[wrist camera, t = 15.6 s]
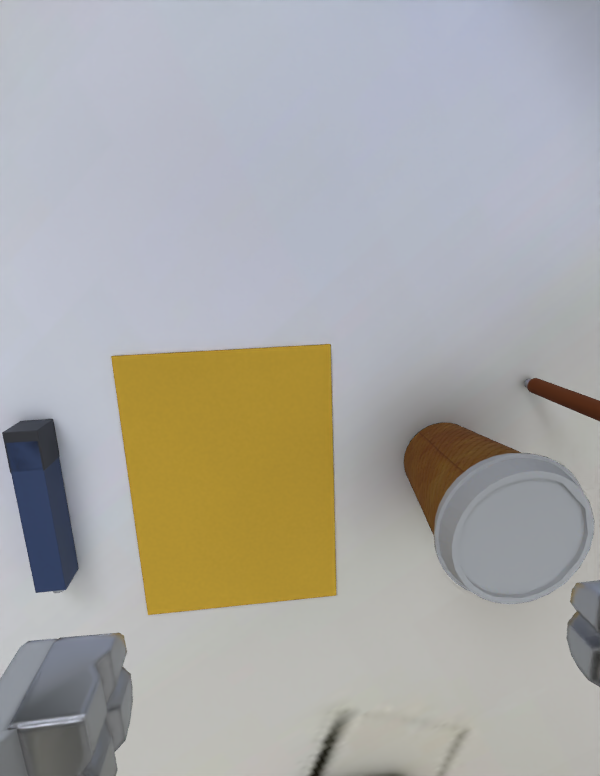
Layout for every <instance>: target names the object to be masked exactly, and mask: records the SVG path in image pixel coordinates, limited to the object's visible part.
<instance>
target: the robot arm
mask: <svg viewBox="0 0 600 776" xmlns="http://www.w3.org/2000/svg"><path fill="white" fill-rule="evenodd" d="M570 602H571V604H572V605H573V606H574V608H575V609H576V611H577V612H576V613H575V614H574V615H573V617H572V618H571V619H570V620H569V622H568V626H567V641H568V645H569V649H570V652H571V655H572V657H573V659H574V661H575V663H576V664H577V666H578V668H579V669H580V670H581V672H582V673H583V674H584V675H585V677H586V678H587V679H588V680H589V681H591V682H592V683H594V684H596V685H598V686H599V687H600V580H598V581H589V582H581V583H576V585H575V586H574V588H573V589H572V593H571V600H570ZM126 653H127V650H126V645H125V640H124V636H123V635H122V634H120V633H111V634H99V635H87V636H75V637H64V638H59V639H47V640H35V641H28V642H27V643H25V644H24V645H23V646H21V647H20V648H19V650H18V651H17V653H16V655H15V656H14V658H13V659H12V661H11V663H10V664H9V666H8V667H7V669H6V670H5V672H4V674H3V675H2V677H1V678H0V776H116V773H117V764H116V758H115V751H116V750H117V749H118V748H119V747H120V746H121V745H122V744H123V742H124V741H125V740H126V736H127V732H128V728H129V724H130V719H131V710H132V702H133V696H132V681H131V674H130V673H129V672H128V671H127V670H126V669H125V668H123V667H122V666H123V663H124V660H125V657H126Z"/></svg>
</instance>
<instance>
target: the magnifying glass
mask: <svg viewBox="0 0 600 776" xmlns="http://www.w3.org/2000/svg"><path fill="white" fill-rule="evenodd" d="M525 387H527V388H528V390H529V391H530V392H531V393H534V394H536V395H539V396H541V397H543V398H546V399H548V400H550V401H553V402H555V403H558V404H560V405H562V406H565V407H567V408H569V409H572V410H574V411H577V412H579V413H581V414H584V415H586V416H588V417H591V418H593V419H596V420H598V421H600V401H599V400H596V399H593V398H590V397H588V396H585V395H582V394H579V393H576V392H574V391H571V390H568V389H565V388H563V387H560V386H557V385H554V384H552V383H549V382H546V381H543V380H541V379H538V378H533V379H527V380H526V381H525Z"/></svg>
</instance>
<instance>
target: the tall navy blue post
mask: <svg viewBox="0 0 600 776" xmlns="http://www.w3.org/2000/svg"><path fill="white" fill-rule="evenodd" d="M2 434H3V439H4V444H5V449H6V453H7V458H8V463H9V468H10V473H11V474H12V479H13V484H14V489H15V494H16V498H17V503H18V508H19V513H20V518H21V523H22V528H23V532H24V537H25V542H26V547H27V552H28V557H29V562H30V567H31V571H32V576H33V581H34V586H35V591H36V593H38V592H48V591H53V592H54V593H60V592H62V591H64V590H66V589H67V587H68V586H69V584H70V582H71V580H72V579H73V577H74V575H75V574H76V572H77V570H78V563H77V557H76V551H75V546H74V540H73V534H72V529H71V523H70V517H69V512H68V506H67V500H66V495H65V489H64V483H63V478H62V472H61V466H60V461H59V451H58V445H57V440H56V434H55V428H54V422H53V419H45V420H29V421H20V422H19V423H17V424H15V425H14V426H12V427H11V428H9V429H7V430H6V431H4V432H3V433H2Z"/></svg>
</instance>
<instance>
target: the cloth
mask: <svg viewBox="0 0 600 776" xmlns="http://www.w3.org/2000/svg"><path fill="white" fill-rule="evenodd" d="M111 358H112V365H113V372H114V379H115V386H116V393H117V400H118V407H119V414H120V421H121V428H122V435H123V442H124V449H125V456H126V463H127V470H128V477H129V484H130V491H131V498H132V505H133V512H134V519H135V526H136V533H137V540H138V547H139V554H140V561H141V568H142V575H143V582H144V589H145V596H146V603H147V610H148V615H152V614H162V613H171V612H181V611H190V610H200V609H210V608H219V607H229V606H239V605H248V604H258V603H267V602H277V601H287V600H296V599H306V598H315V597H325V596H335V595H336V560H335V516H334V472H333V429H332V385H331V345H330V344H325V345H306V346H288V347H270V348H251V349H233V350H215V351H196V352H178V353H160V354H142V355H123V356H112V357H111Z"/></svg>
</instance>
